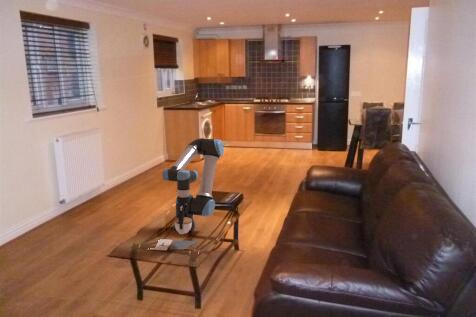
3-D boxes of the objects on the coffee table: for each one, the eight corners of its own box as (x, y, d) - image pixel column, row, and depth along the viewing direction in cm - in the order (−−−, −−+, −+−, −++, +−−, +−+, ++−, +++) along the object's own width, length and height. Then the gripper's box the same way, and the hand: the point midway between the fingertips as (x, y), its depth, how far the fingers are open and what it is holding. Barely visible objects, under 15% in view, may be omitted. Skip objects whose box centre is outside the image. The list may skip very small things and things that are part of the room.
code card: (151, 239, 265) (151, 238, 265) (172, 239, 264) (172, 239, 264) (143, 249, 248) (143, 248, 248) (166, 250, 247) (166, 249, 247)
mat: (174, 240, 263) (174, 240, 263) (196, 241, 262) (196, 241, 262) (169, 249, 249) (169, 248, 249) (192, 250, 248) (192, 249, 248)
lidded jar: (193, 233, 250) (193, 219, 249) (176, 235, 247) (176, 220, 245) (189, 228, 260) (189, 213, 259) (172, 229, 257) (172, 215, 255)
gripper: (181, 191, 261) (180, 224, 265) (173, 200, 239) (173, 237, 242) (192, 191, 261) (192, 224, 265) (185, 201, 238) (185, 237, 242)
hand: (183, 230), depth 254 cm, fingers closed on lidded jar, 11 cm apart
